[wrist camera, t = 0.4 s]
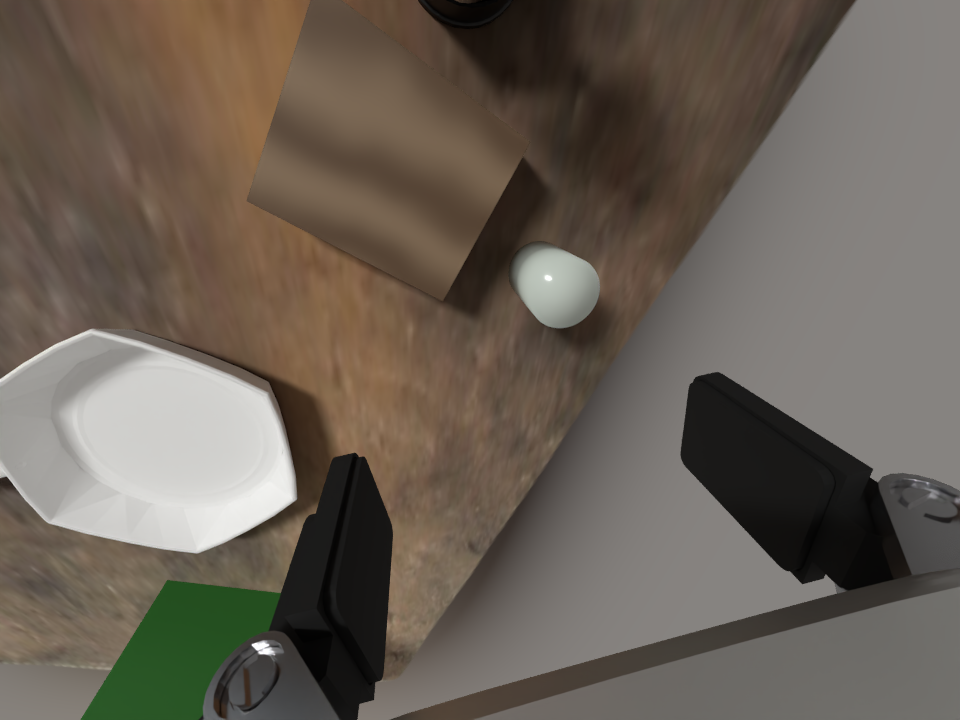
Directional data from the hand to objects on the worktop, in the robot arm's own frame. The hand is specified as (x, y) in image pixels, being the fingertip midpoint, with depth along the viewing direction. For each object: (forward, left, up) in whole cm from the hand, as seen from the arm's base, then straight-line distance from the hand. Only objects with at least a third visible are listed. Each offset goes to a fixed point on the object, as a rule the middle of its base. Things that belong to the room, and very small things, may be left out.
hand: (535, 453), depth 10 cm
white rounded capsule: (-3, +8, -28) cm, 30 cm away
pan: (+35, -25, -29) cm, 52 cm away
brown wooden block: (-4, -8, -28) cm, 29 cm away
